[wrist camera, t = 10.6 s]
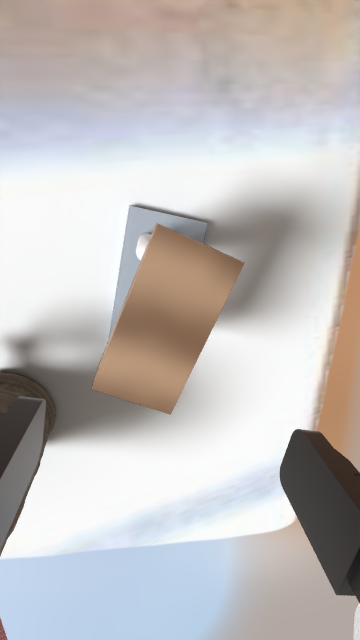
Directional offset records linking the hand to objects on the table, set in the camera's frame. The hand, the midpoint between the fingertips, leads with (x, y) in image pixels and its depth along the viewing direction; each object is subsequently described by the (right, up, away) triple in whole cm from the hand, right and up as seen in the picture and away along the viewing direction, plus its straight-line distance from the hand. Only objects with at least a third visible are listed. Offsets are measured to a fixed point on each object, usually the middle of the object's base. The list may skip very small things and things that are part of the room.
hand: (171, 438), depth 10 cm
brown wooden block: (-1, +4, +15) cm, 15 cm away
